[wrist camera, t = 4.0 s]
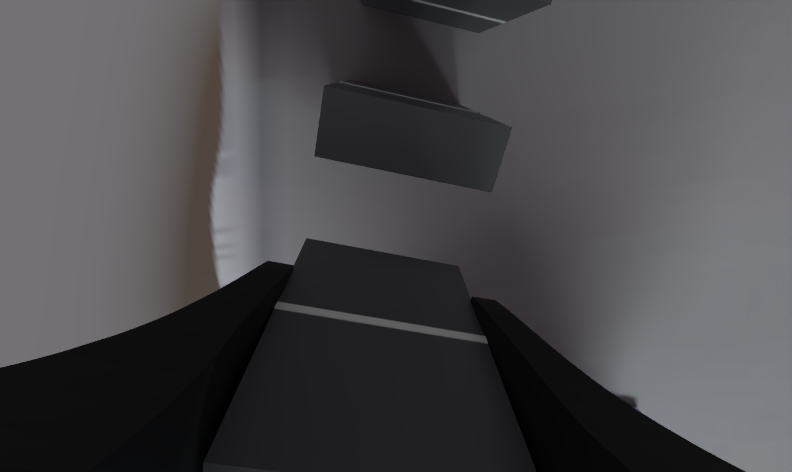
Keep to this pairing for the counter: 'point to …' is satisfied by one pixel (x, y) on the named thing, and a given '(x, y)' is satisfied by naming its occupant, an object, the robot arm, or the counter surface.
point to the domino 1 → (462, 11)
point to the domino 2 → (410, 135)
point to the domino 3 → (370, 375)
